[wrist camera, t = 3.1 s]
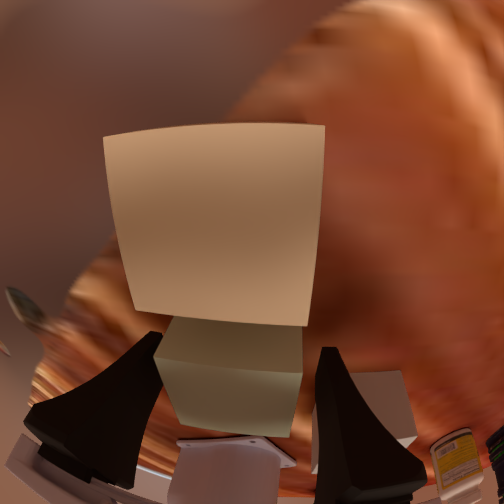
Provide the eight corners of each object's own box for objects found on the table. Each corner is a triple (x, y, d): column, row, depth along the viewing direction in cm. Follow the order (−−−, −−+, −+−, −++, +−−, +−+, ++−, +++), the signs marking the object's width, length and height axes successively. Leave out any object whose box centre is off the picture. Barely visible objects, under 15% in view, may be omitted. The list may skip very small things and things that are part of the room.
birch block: (301, 245, 12) (307, 326, 7) (186, 240, 12) (135, 310, 8) (307, 123, 9) (325, 125, 5) (177, 125, 10) (103, 137, 6)
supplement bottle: (458, 443, 20) (471, 505, 12) (422, 453, 21) (432, 520, 13) (478, 421, 18) (497, 490, 9) (441, 434, 19) (456, 510, 10)
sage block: (292, 359, 15) (288, 437, 10) (204, 352, 15) (180, 424, 11) (300, 286, 13) (302, 373, 8) (193, 279, 13) (153, 356, 9)
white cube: (376, 410, 17) (384, 467, 12) (311, 413, 17) (311, 473, 13) (400, 369, 15) (417, 435, 10) (324, 371, 15) (327, 445, 11)
